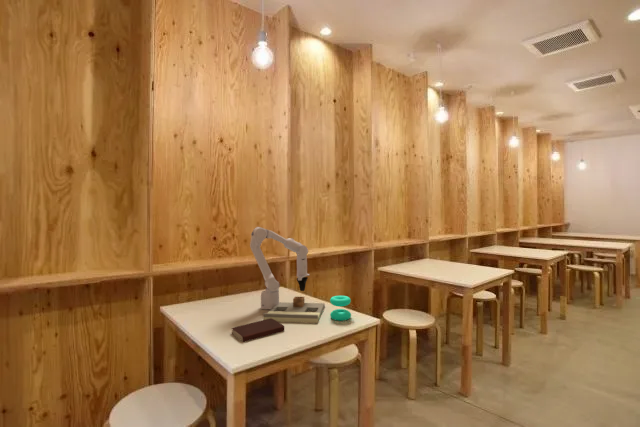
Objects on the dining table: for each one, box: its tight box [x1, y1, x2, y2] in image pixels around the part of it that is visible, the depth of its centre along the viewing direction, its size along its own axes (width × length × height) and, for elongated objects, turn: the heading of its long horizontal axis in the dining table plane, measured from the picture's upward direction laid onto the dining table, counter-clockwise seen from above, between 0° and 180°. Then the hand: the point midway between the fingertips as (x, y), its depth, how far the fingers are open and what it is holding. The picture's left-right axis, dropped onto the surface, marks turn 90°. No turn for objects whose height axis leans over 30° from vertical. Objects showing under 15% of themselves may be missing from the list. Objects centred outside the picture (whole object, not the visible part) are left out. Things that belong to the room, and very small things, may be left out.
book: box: [231, 318, 285, 343], centre depth 145 cm, size 12×19×3 cm, turn 126°
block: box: [292, 296, 305, 307], centre depth 177 cm, size 5×5×4 cm
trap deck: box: [262, 301, 326, 324], centre depth 170 cm, size 26×25×4 cm
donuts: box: [329, 295, 352, 322], centre depth 162 cm, size 10×10×10 cm
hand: (302, 290), depth 187 cm, fingers closed
